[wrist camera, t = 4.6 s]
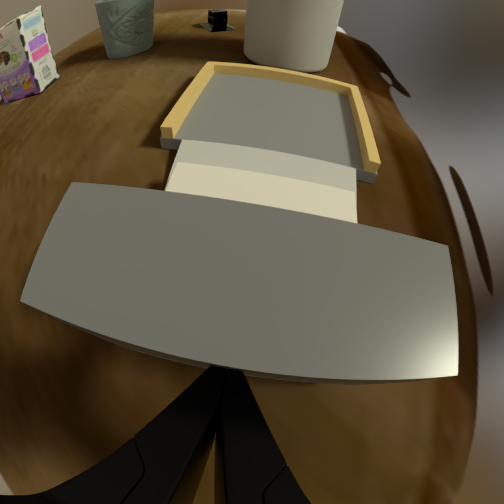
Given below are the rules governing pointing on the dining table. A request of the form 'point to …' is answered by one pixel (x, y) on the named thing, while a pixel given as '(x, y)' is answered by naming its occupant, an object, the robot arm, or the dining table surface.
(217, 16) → the black block on plate
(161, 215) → the gray and cream l-shape
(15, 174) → the dining table surface
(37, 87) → the candy box
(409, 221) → the dining table surface
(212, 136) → the loading dock
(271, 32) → the cylinder vase
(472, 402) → the dining table surface
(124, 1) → the green embossed cup
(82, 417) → the dining table surface
